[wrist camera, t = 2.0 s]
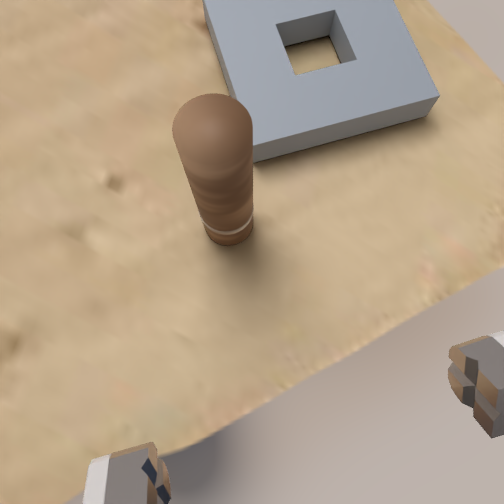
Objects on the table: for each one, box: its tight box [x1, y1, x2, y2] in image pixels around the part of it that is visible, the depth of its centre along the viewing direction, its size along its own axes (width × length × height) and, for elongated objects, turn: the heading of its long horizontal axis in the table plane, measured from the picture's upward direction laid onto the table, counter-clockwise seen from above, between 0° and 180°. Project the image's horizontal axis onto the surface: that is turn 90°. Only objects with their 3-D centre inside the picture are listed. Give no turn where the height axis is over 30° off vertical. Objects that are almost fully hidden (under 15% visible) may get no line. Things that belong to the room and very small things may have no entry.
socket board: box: [203, 0, 440, 163], centre depth 32 cm, size 14×14×2 cm
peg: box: [172, 94, 253, 245], centre depth 23 cm, size 4×4×12 cm
